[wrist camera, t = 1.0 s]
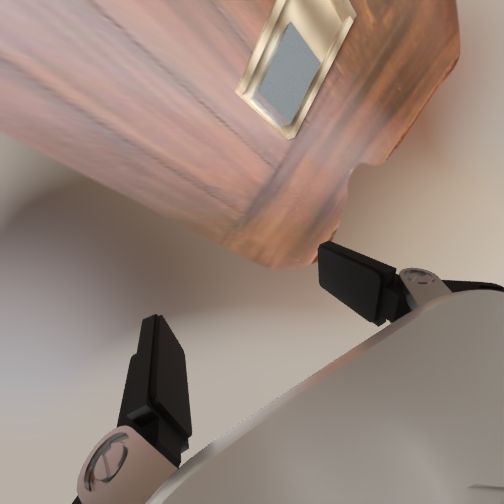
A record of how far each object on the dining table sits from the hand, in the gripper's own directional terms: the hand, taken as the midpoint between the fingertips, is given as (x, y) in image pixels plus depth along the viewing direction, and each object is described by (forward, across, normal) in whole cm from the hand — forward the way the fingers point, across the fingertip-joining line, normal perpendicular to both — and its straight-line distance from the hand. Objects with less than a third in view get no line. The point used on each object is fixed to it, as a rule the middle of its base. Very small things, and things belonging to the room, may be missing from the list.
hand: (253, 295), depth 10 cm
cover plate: (+27, -20, -16) cm, 37 cm away
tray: (+27, -24, -20) cm, 41 cm away
